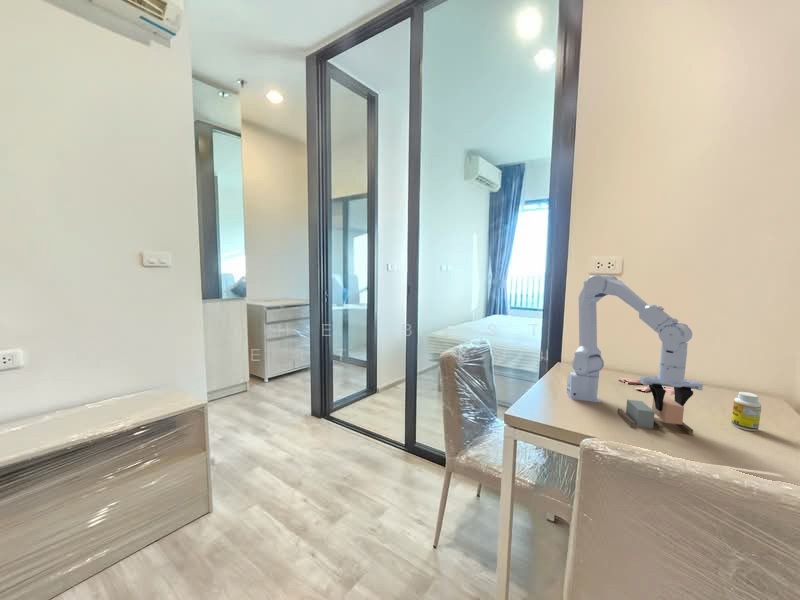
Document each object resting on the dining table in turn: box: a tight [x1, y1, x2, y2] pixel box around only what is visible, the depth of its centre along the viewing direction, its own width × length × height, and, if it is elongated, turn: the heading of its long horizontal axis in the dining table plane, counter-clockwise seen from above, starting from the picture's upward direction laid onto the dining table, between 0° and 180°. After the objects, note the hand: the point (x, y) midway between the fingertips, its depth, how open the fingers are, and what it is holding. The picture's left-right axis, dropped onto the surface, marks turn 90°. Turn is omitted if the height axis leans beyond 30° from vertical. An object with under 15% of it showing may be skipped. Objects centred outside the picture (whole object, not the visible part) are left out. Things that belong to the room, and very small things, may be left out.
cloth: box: [618, 377, 675, 395], centre depth 131 cm, size 20×22×2 cm
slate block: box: [625, 399, 656, 429], centre depth 97 cm, size 4×8×5 cm, turn 165°
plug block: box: [651, 396, 685, 424], centre depth 96 cm, size 4×8×5 cm, turn 165°
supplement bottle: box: [731, 391, 762, 432], centre depth 96 cm, size 6×6×10 cm
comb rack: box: [616, 408, 694, 436], centre depth 97 cm, size 15×10×2 cm, turn 75°
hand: (667, 410), depth 95 cm, fingers closed on plug block, 4 cm apart
